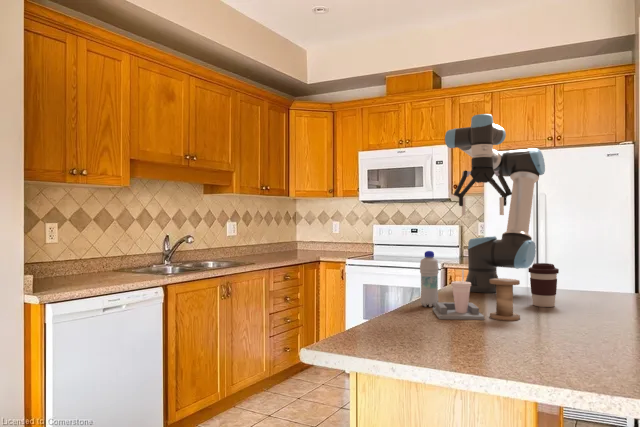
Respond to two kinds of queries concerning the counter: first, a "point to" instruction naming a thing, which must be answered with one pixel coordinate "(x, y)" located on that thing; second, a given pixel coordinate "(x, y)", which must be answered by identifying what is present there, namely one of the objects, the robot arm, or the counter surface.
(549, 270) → the coffee cup
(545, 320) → the counter surface
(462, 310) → the smoothie
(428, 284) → the bottle
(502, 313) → the bobbin
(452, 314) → the notch board
